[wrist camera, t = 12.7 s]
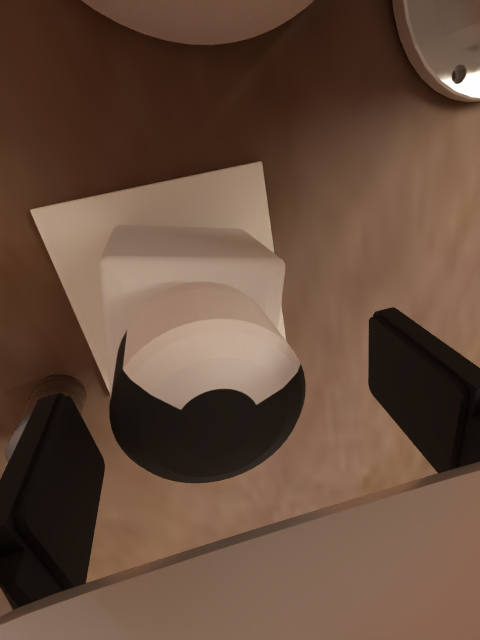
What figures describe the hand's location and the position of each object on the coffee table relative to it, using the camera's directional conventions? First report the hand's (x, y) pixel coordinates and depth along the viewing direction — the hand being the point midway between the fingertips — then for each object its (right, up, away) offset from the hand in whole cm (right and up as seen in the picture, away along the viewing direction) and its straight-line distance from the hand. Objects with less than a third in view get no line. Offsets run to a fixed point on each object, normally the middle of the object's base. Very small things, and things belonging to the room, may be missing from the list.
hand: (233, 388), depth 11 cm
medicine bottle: (-3, +4, +10) cm, 11 cm away
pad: (-3, +4, +10) cm, 12 cm away
